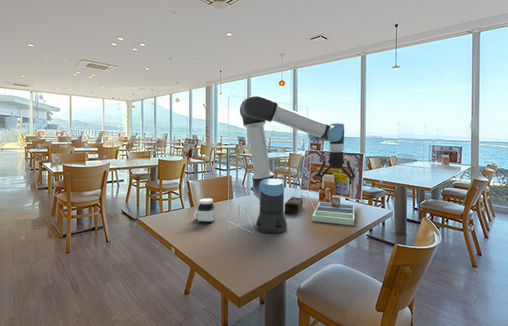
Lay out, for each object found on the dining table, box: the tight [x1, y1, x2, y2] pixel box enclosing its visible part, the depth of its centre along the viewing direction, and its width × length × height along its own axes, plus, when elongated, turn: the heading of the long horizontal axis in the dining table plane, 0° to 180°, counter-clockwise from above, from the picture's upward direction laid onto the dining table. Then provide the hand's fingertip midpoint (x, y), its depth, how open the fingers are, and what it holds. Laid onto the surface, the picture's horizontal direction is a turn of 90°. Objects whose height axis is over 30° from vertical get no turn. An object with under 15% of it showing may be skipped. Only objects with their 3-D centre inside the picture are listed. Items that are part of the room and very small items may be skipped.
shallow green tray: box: [314, 205, 355, 215], centre depth 152 cm, size 21×9×3 cm, turn 70°
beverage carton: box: [284, 196, 304, 216], centre depth 162 cm, size 8×19×7 cm, turn 161°
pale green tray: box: [312, 210, 355, 226], centre depth 143 cm, size 21×9×3 cm, turn 70°
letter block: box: [331, 195, 341, 208], centre depth 161 cm, size 4×5×8 cm
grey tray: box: [317, 201, 355, 210], centre depth 161 cm, size 21×9×3 cm, turn 70°
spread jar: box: [193, 197, 216, 224], centre depth 142 cm, size 12×11×12 cm
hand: (335, 189), depth 151 cm, fingers open, 13 cm apart
